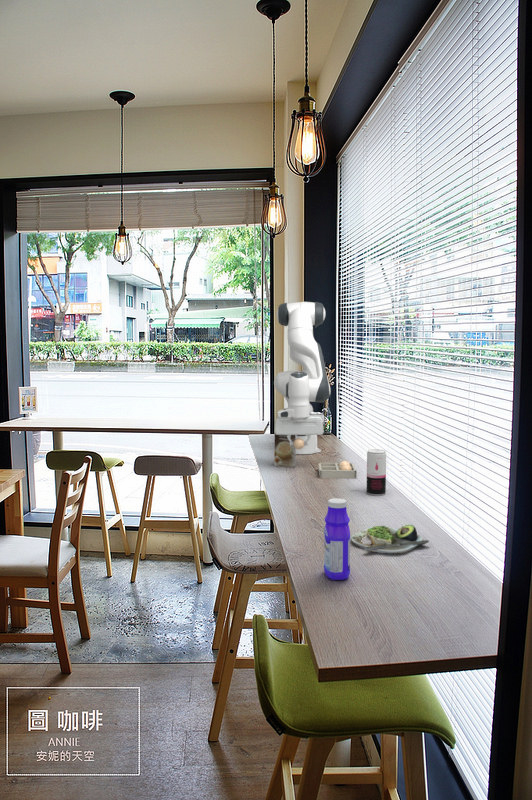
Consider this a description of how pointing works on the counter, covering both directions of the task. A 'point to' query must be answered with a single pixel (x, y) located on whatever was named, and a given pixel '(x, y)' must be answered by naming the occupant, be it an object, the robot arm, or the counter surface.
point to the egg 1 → (298, 443)
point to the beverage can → (376, 472)
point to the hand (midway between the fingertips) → (298, 445)
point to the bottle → (337, 541)
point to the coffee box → (284, 451)
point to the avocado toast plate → (389, 539)
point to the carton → (336, 471)
